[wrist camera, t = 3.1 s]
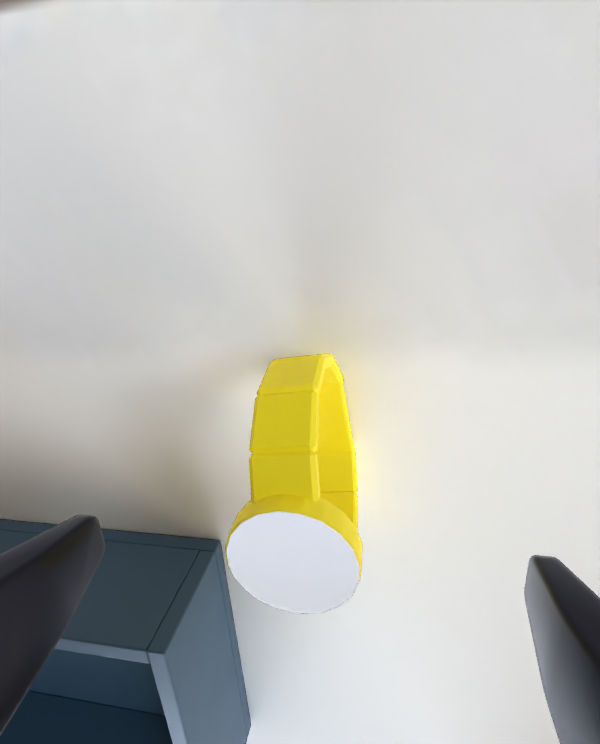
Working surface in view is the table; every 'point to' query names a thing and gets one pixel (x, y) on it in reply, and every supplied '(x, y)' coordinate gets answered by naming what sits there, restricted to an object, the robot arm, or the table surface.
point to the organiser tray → (140, 650)
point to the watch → (299, 492)
